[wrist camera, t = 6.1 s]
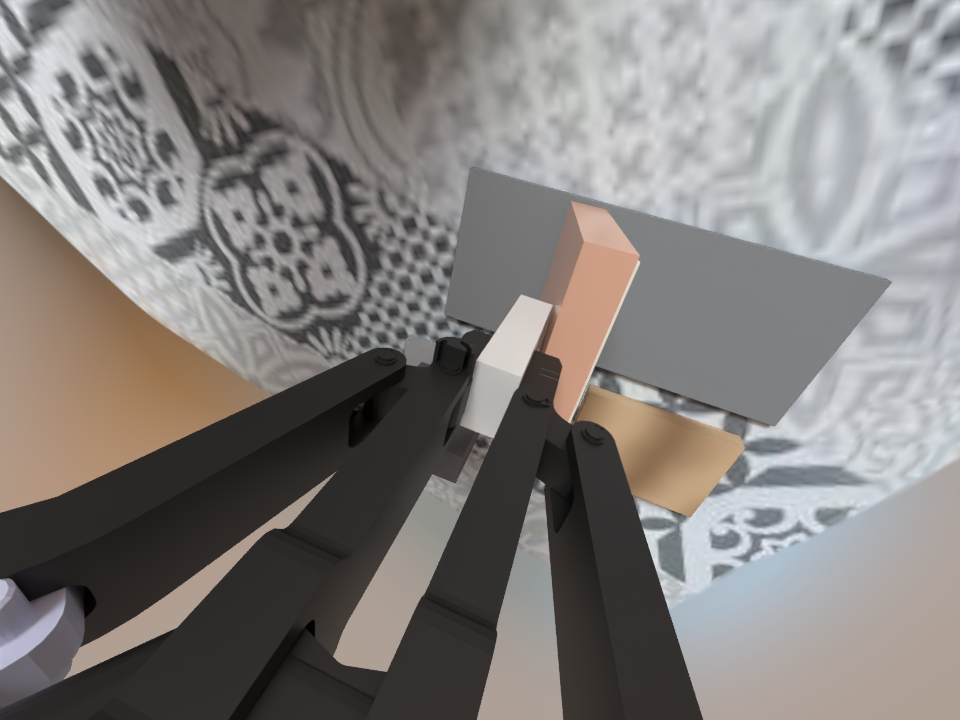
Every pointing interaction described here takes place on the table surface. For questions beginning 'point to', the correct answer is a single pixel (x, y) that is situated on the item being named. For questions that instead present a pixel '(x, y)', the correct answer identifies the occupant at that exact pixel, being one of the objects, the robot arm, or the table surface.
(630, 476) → the board
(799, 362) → the mat
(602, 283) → the tile
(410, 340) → the grout float
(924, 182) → the table surface
